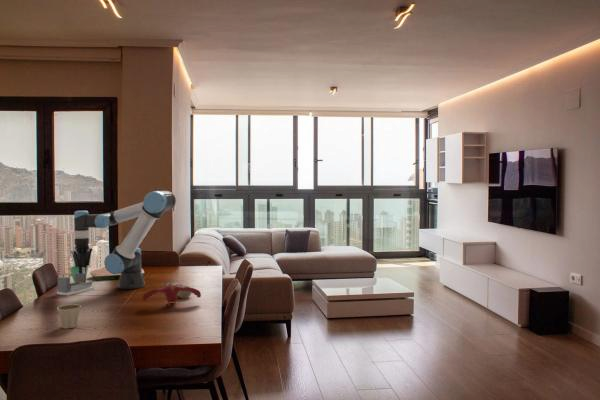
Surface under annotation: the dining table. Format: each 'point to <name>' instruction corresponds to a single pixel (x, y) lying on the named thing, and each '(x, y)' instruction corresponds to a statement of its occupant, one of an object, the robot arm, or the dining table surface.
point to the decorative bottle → (180, 294)
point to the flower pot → (69, 315)
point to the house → (105, 273)
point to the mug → (76, 271)
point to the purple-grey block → (79, 278)
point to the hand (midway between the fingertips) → (82, 278)
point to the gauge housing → (68, 289)
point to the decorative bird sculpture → (171, 293)
